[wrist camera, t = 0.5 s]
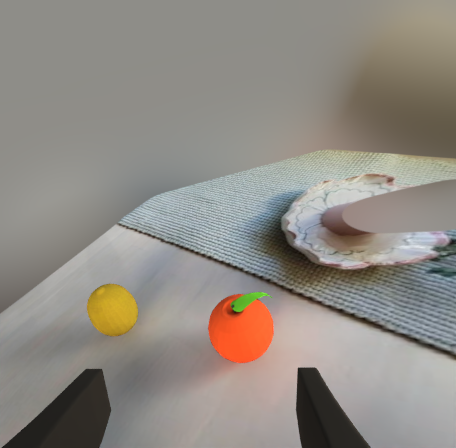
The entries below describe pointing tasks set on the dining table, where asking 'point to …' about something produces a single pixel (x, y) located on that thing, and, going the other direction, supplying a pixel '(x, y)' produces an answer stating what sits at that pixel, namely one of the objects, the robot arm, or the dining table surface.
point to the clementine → (241, 327)
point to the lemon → (112, 310)
